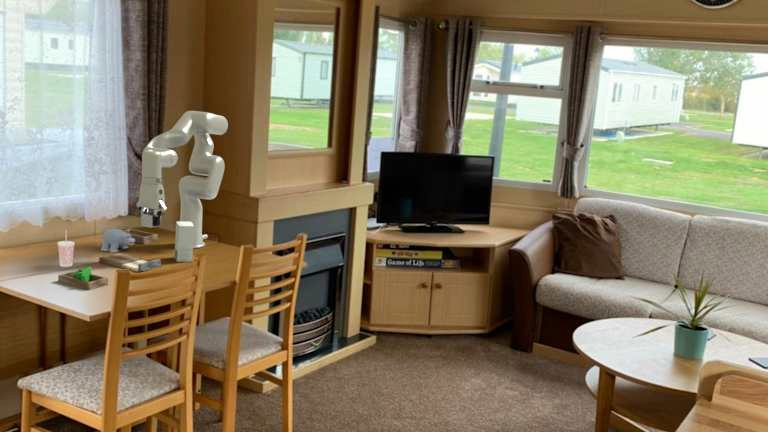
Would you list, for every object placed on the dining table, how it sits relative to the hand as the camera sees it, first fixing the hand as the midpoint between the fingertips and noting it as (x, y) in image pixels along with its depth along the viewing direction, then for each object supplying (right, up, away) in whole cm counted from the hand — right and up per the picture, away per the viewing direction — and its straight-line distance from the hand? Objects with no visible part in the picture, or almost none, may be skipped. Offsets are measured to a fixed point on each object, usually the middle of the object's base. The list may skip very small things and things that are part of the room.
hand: (151, 224), depth 311 cm
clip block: (0, -1, 0) cm, 1 cm away
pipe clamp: (-14, -21, -35) cm, 43 cm away
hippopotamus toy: (-19, -11, +16) cm, 27 cm away
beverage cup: (-29, -16, -14) cm, 36 cm away
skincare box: (+11, -15, +8) cm, 21 cm away
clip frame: (-17, -7, +35) cm, 40 cm away
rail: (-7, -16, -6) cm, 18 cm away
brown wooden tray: (-14, -21, -35) cm, 43 cm away
